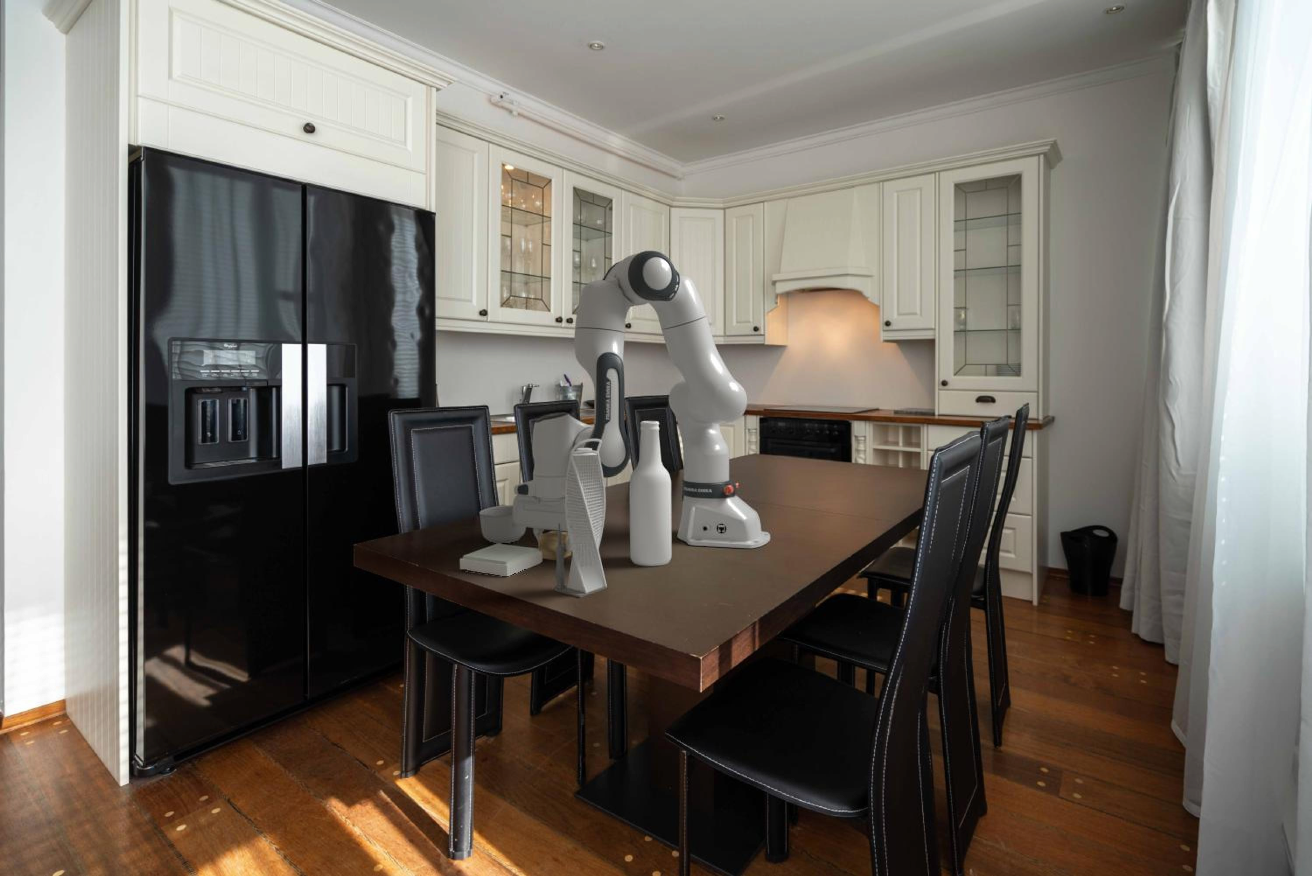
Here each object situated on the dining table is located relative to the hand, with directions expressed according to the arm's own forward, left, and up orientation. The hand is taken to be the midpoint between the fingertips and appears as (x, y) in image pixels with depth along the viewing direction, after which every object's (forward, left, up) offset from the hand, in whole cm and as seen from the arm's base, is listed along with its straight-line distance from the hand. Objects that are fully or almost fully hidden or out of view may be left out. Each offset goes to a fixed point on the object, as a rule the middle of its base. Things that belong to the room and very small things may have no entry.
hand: (555, 549), depth 151 cm
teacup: (+20, -8, -2) cm, 22 cm away
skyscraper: (-18, +17, -2) cm, 25 cm away
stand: (+6, +11, -2) cm, 13 cm away
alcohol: (-21, -5, -2) cm, 22 cm away
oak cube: (0, 0, -2) cm, 2 cm away
